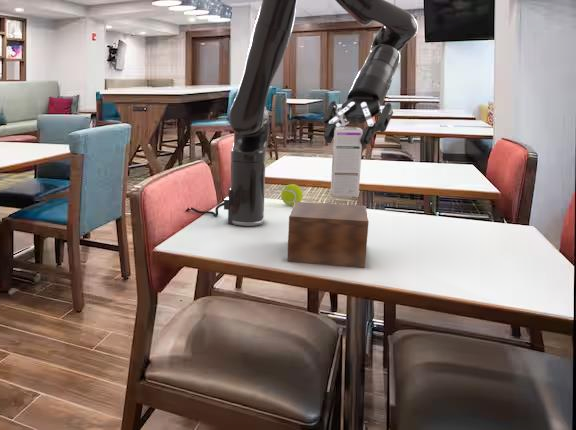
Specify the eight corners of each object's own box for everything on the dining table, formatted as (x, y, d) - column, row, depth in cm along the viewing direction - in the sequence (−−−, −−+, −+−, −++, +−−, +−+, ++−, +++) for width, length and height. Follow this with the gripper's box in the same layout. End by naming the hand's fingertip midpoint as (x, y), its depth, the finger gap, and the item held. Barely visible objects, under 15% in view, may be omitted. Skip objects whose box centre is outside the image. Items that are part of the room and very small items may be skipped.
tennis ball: (278, 206, 168) (278, 185, 166) (283, 202, 174) (284, 181, 172) (299, 208, 165) (300, 186, 163) (304, 204, 171) (305, 183, 169)
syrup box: (358, 197, 115) (364, 129, 112) (330, 196, 116) (335, 128, 113) (356, 192, 121) (362, 126, 117) (329, 191, 122) (334, 126, 118)
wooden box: (287, 261, 116) (289, 216, 114) (293, 242, 130) (295, 201, 128) (364, 267, 112) (368, 221, 110) (362, 247, 126) (365, 205, 124)
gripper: (336, 73, 122) (309, 128, 116) (400, 73, 113) (373, 133, 107) (345, 96, 127) (318, 150, 122) (406, 98, 118) (381, 156, 113)
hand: (344, 142), depth 115 cm, fingers closed on syrup box, 7 cm apart
